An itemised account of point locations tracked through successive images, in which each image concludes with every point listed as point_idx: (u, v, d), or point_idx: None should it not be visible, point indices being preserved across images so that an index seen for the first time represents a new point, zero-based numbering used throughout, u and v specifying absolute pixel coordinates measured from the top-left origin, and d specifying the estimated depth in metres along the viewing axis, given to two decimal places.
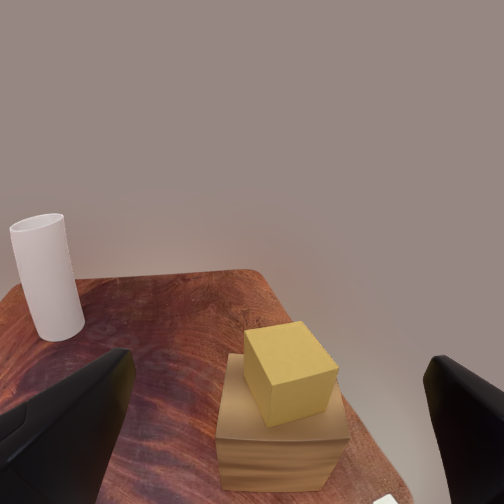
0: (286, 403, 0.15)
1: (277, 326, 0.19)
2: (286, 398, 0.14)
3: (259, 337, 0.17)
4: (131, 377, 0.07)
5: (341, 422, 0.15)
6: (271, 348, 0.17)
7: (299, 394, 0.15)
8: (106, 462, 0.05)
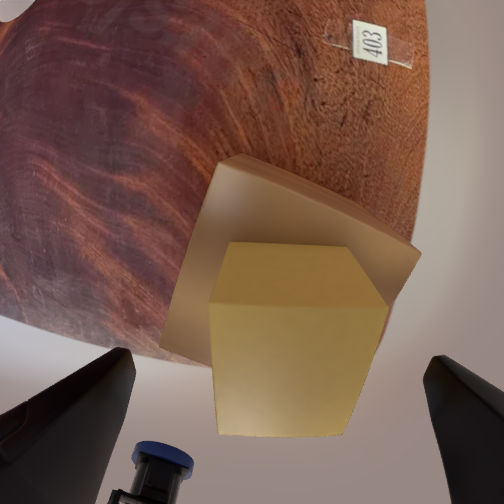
0: None
1: (310, 315, 0.06)
2: None
3: (239, 340, 0.06)
4: (131, 377, 0.07)
5: None
6: (254, 377, 0.07)
7: None
8: (107, 462, 0.05)
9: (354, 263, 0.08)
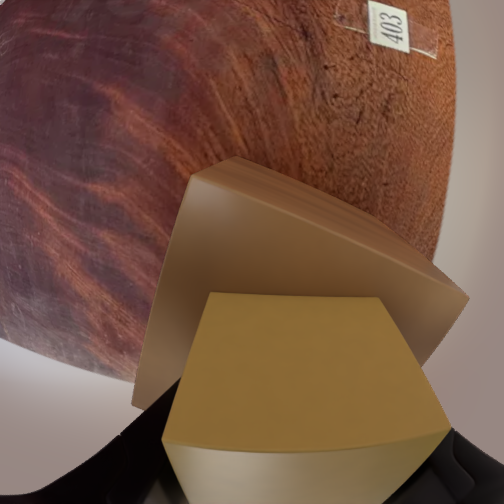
0: None
1: (333, 457, 0.03)
2: None
3: (219, 477, 0.03)
4: None
5: None
6: (243, 502, 0.04)
7: None
8: None
9: (395, 332, 0.05)
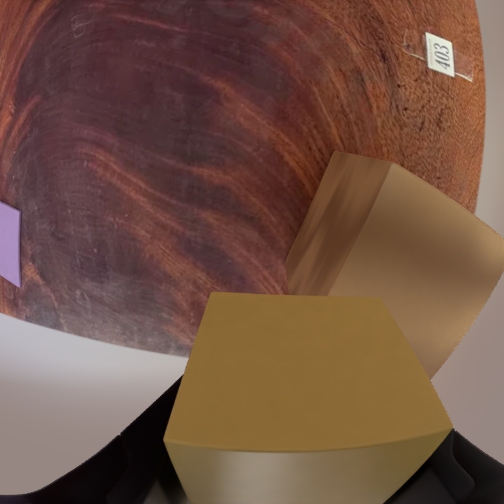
0: None
1: (336, 456, 0.03)
2: None
3: (220, 477, 0.03)
4: None
5: (439, 362, 0.12)
6: (244, 502, 0.04)
7: None
8: None
9: (396, 332, 0.05)
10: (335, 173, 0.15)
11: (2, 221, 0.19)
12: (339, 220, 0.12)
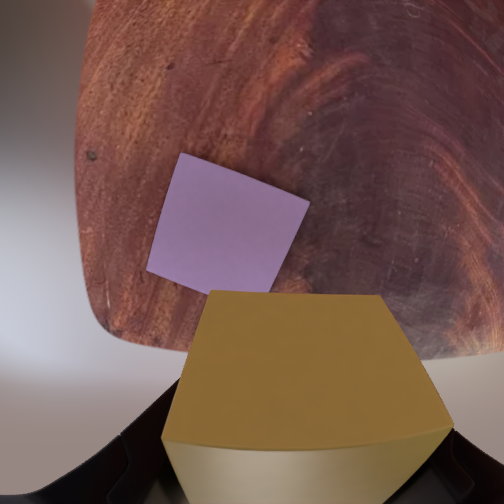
0: None
1: (335, 455, 0.03)
2: None
3: (219, 476, 0.03)
4: None
5: None
6: (243, 502, 0.04)
7: None
8: None
9: (395, 330, 0.05)
10: None
11: (257, 213, 0.17)
12: None
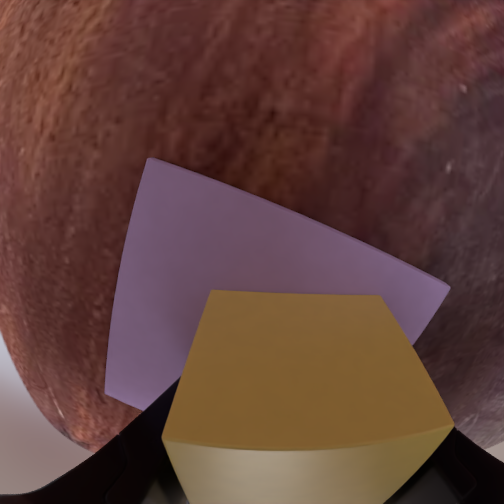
0: None
1: (336, 455, 0.03)
2: None
3: (219, 476, 0.03)
4: None
5: None
6: (243, 502, 0.04)
7: None
8: None
9: (396, 330, 0.05)
10: None
11: None
12: None
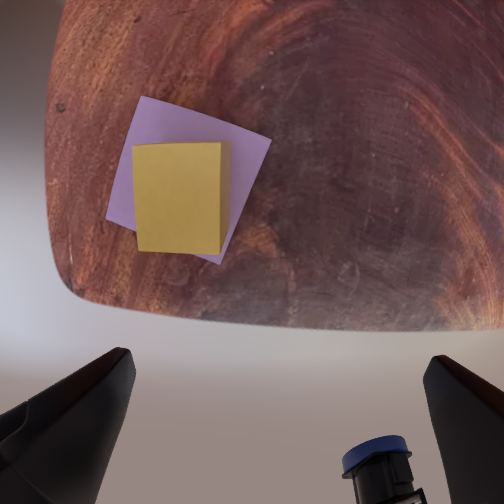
0: None
1: (178, 147, 0.12)
2: None
3: (146, 165, 0.12)
4: (131, 377, 0.07)
5: None
6: (154, 192, 0.12)
7: None
8: (107, 463, 0.05)
9: (225, 141, 0.14)
10: None
11: None
12: None
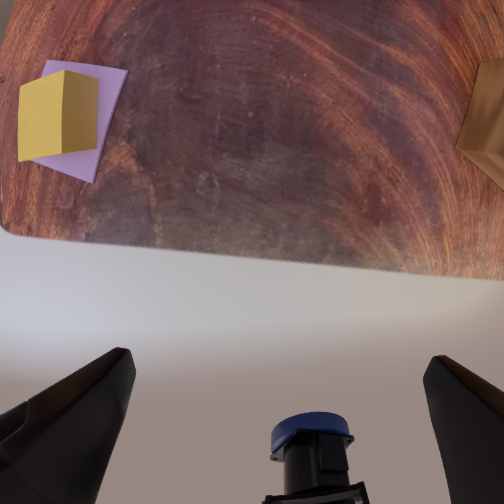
0: None
1: (42, 79, 0.11)
2: (40, 157, 0.14)
3: (25, 97, 0.12)
4: (131, 377, 0.07)
5: None
6: (28, 114, 0.12)
7: None
8: (106, 462, 0.05)
9: (85, 75, 0.14)
10: (497, 71, 0.11)
11: None
12: None
